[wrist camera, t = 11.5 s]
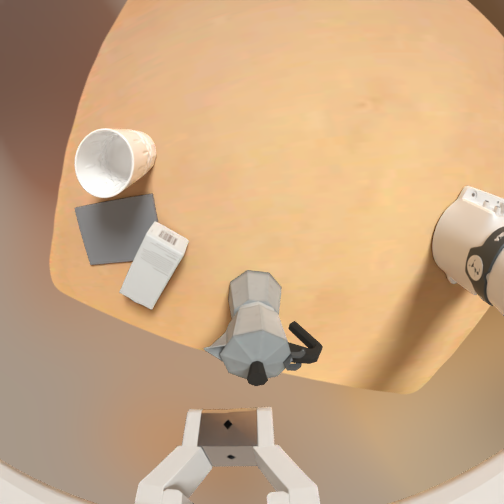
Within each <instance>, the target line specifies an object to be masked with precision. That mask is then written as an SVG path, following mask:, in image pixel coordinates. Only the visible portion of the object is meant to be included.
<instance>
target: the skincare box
mask: <svg viewBox="0 0 504 504" xmlns="http://www.w3.org/2000/svg"><path fill="white" fill-rule="evenodd" d="M188 242H189V241H188V240H187V239H186V238H185V237H183V236H181V235H179V234H178V233H176V232H174V231H172V230H171V229H169V228H167V227H165V226H163V225H161V224H160V223H158V222H156V221H155V222H154V223H153V224H152V226H151V227H150V229H149V230H148V232H147V233H146V235H145V237H144V239H143V241H142V243H141V245H140V248H139V250H138V252H137V254H136V256H135V258H134V260H133V262H132V264H131V267H130V269H129V271H128V273H127V275H126V278H125V280H124V283H123V285H122V287H121V290H120V293H121V294H123V295H125V296H127V297H128V298H130V299H131V300H133V301H134V302H136V303H138V304H141V305H143V306H145V307H147V308H149V309H151V310H152V309H153V307H154V306H155V304H156V302H157V300H158V298H159V297H160V295H161V293H162V291H163V290H164V288H165V286H166V285H167V283H168V281H169V279H170V278H171V276H172V274H173V273H174V271H175V269H176V268H177V266H178V264H179V263H180V261H181V259H182V258H183V256H184V253H185V250H186V248H187V245H188Z"/></svg>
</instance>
